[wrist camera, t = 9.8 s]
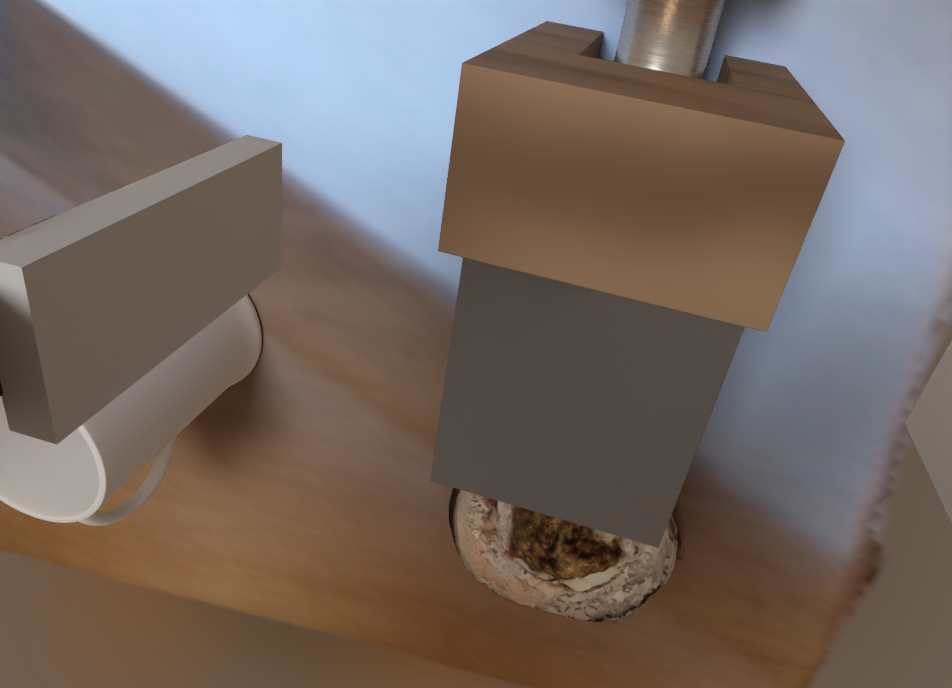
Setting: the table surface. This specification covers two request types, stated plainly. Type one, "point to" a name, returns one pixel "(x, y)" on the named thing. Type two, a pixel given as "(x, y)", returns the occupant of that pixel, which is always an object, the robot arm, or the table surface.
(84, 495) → the mug
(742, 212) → the spacer
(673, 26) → the shaft
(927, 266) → the table surface
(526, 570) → the cream tart
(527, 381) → the block
